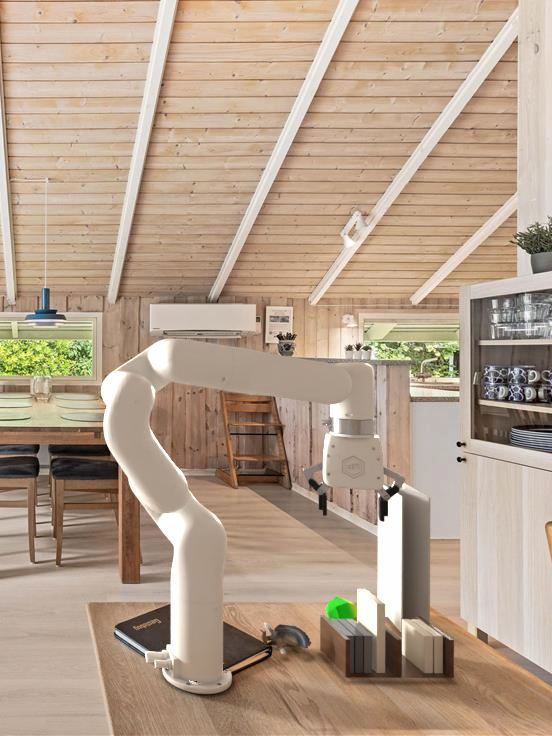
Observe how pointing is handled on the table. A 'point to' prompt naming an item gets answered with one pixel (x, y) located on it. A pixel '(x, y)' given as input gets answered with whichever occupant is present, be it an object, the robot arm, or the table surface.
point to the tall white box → (405, 556)
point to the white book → (373, 625)
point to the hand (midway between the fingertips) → (352, 516)
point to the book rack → (395, 663)
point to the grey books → (357, 645)
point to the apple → (341, 609)
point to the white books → (422, 646)
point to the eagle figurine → (286, 638)
